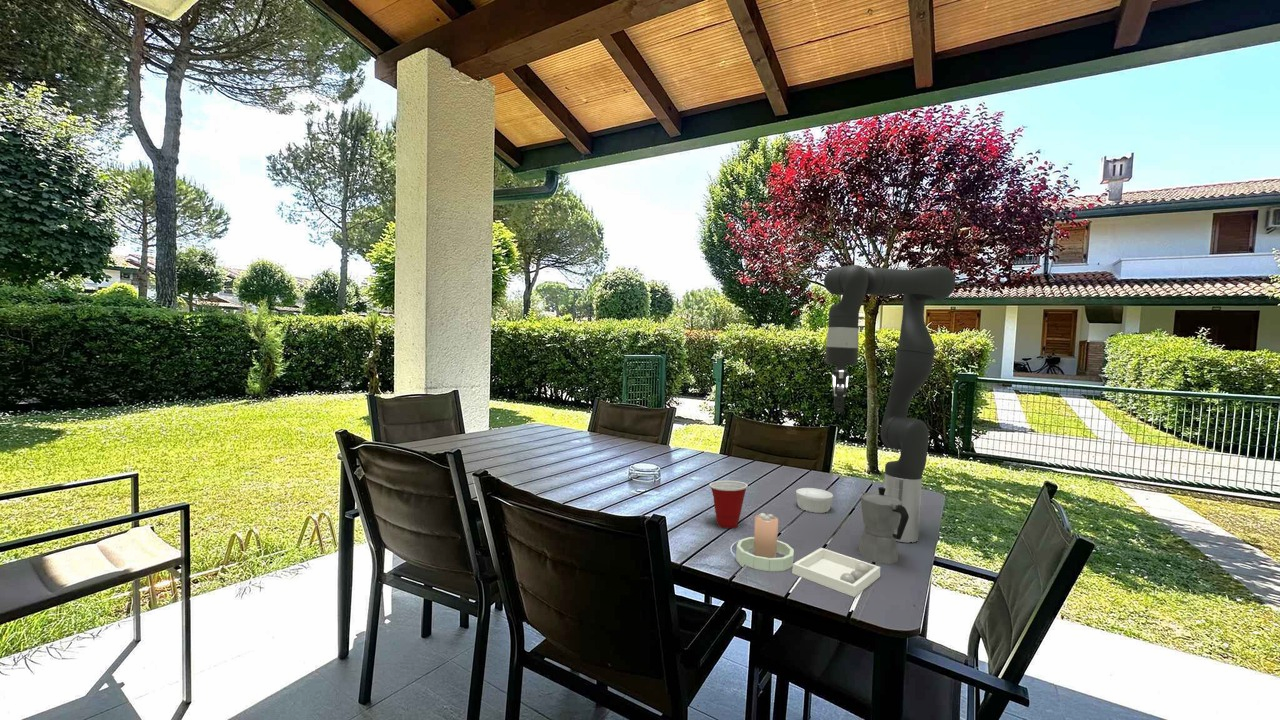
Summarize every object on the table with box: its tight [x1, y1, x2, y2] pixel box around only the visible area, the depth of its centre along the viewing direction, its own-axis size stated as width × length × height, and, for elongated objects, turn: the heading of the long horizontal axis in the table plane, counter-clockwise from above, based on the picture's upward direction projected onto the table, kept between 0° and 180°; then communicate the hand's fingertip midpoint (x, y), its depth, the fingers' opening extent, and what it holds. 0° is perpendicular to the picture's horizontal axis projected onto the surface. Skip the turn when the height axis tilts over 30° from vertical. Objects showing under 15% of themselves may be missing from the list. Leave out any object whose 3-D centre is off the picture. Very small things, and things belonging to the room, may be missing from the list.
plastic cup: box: [709, 480, 749, 529], centre depth 148 cm, size 11×11×12 cm
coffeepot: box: [857, 486, 909, 565], centre depth 127 cm, size 15×9×18 cm, turn 14°
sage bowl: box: [735, 536, 795, 572], centre depth 124 cm, size 13×13×4 cm
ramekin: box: [795, 487, 834, 514], centre depth 166 cm, size 11×11×5 cm
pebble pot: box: [752, 512, 779, 558], centre depth 124 cm, size 5×5×11 cm
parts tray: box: [791, 547, 881, 598], centre depth 117 cm, size 14×14×4 cm
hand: (838, 409), depth 132 cm, fingers open, 8 cm apart
